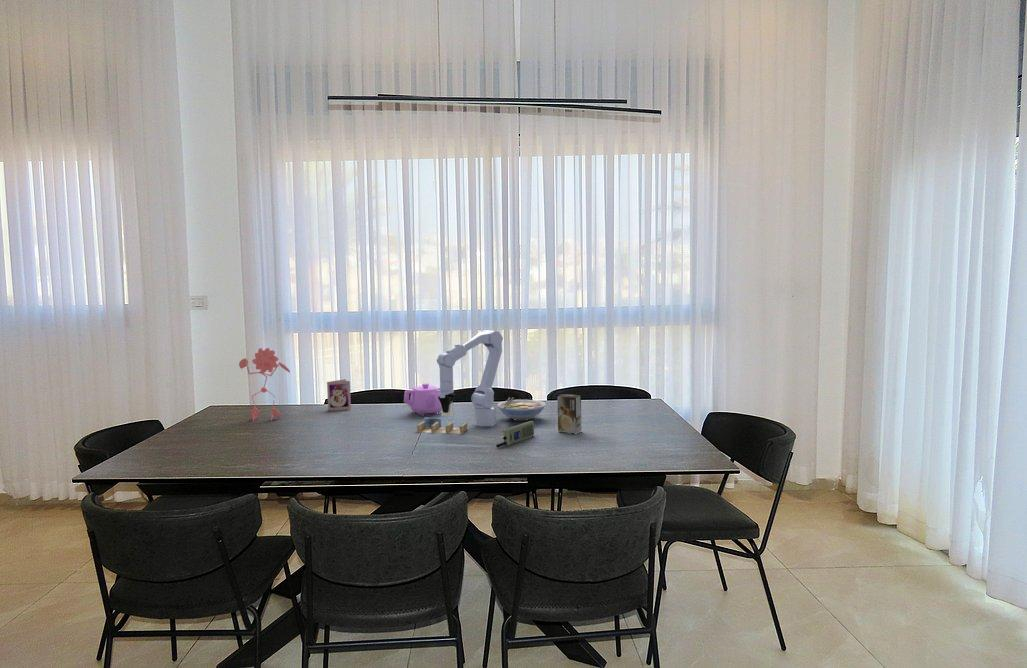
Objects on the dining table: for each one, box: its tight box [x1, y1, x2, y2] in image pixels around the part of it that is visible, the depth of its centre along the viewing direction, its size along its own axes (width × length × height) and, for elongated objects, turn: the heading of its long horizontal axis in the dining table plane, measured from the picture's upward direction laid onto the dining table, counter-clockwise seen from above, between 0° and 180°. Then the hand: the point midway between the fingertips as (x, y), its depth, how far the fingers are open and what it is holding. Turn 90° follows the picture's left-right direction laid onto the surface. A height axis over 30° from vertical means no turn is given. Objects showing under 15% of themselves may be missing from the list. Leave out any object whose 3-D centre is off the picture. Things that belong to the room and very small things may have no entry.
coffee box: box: [556, 393, 583, 434], centre depth 280 cm, size 9×6×16 cm
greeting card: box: [326, 378, 352, 412], centre depth 337 cm, size 11×7×15 cm, turn 104°
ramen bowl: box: [497, 396, 546, 421], centre depth 307 cm, size 25×23×8 cm
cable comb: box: [416, 417, 469, 435], centre depth 283 cm, size 20×11×5 cm, turn 80°
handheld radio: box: [495, 420, 535, 449], centre depth 265 cm, size 7×3×25 cm
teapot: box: [403, 382, 442, 416], centre depth 323 cm, size 19×18×15 cm
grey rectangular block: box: [441, 400, 454, 417], centre depth 281 cm, size 4×4×6 cm
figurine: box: [238, 347, 291, 422], centre depth 315 cm, size 15×26×35 cm, turn 86°
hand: (447, 411), depth 281 cm, fingers closed on grey rectangular block, 4 cm apart
